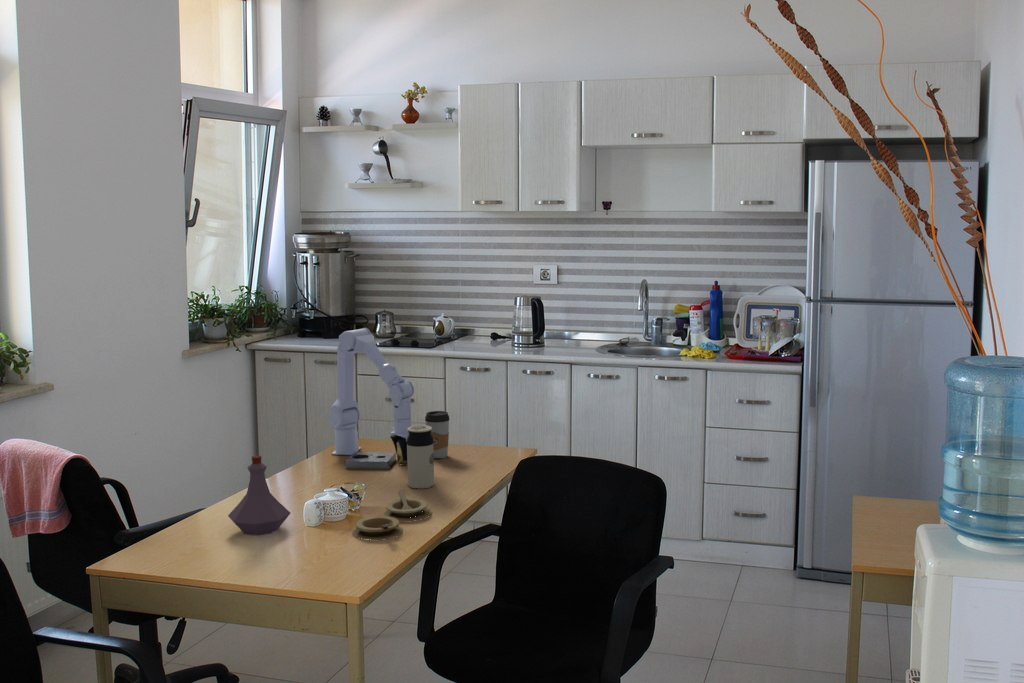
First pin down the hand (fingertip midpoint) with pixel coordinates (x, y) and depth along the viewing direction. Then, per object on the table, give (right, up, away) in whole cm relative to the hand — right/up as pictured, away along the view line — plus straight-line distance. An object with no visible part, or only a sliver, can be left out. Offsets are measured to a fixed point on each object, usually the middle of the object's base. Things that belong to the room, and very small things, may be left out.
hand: (403, 458), depth 340 cm
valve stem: (0, -2, 0) cm, 2 cm away
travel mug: (+8, -6, -27) cm, 28 cm away
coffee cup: (+11, -1, +8) cm, 14 cm away
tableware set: (+4, -12, -62) cm, 63 cm away
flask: (-31, -12, -66) cm, 74 cm away
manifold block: (-11, -2, -1) cm, 11 cm away
